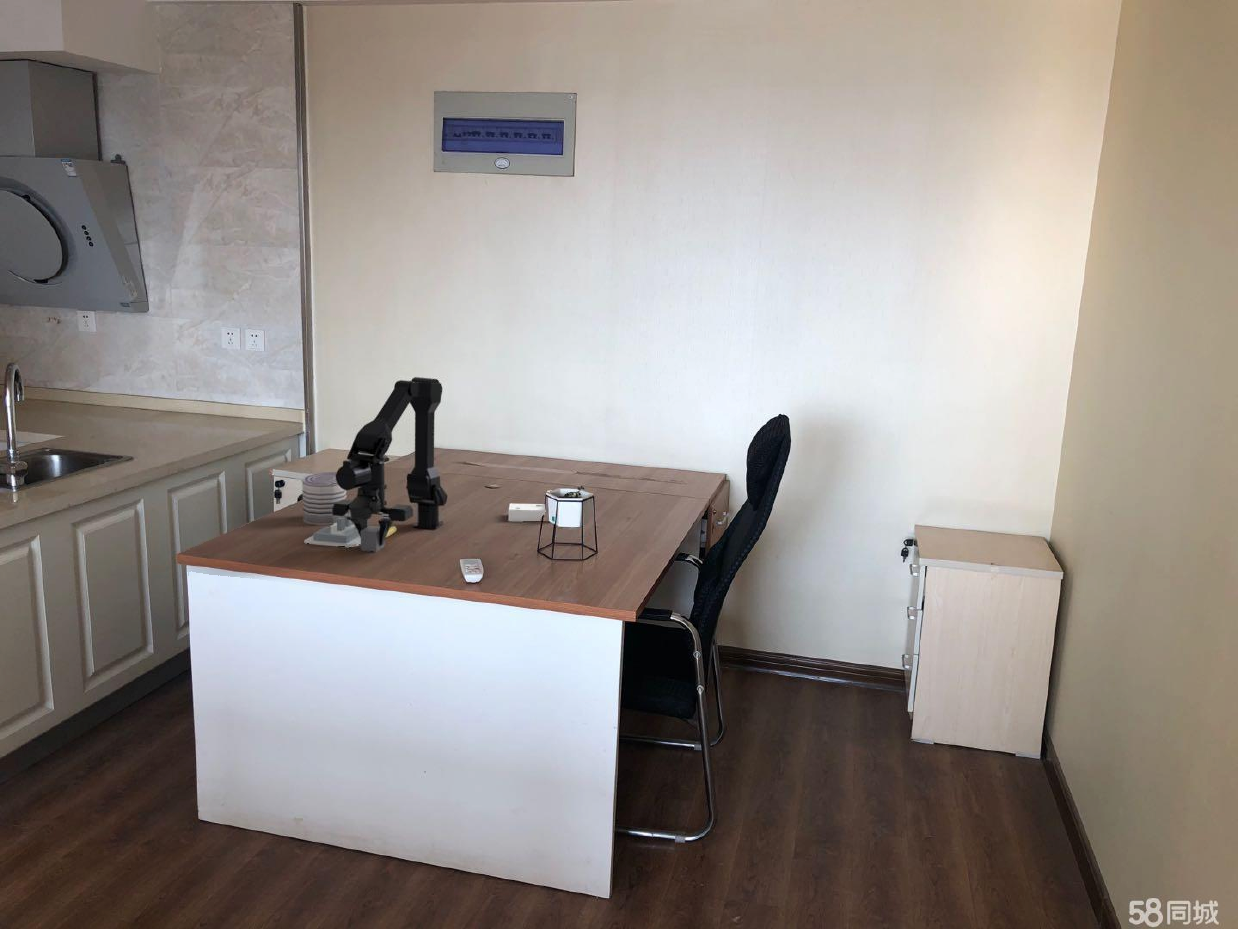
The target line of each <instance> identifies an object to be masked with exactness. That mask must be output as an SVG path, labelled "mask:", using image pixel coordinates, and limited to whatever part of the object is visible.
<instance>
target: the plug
mask: <svg viewBox="0 0 1238 929" xmlns="http://www.w3.org/2000/svg"><path fill="white" fill-rule="evenodd" d="M397 530H398V529H397V527H396V526H394V525H391V527H390V529H389V531H388V533H387V536H386V538H388V537H390V536H391V535H393V534H395V533H396V532H397ZM379 536H380V525H378V526H377V525H369V526H368V527H366V528H364V529H363V530H361V544H360V551H361V550H362V551H361V552H370V551H373V552H374V553H377V552H379V551H381V550H382V549H383V548H385V547H386V540H385V541H384V543H383V545H382V546H380V542H379ZM384 546H385V547H384ZM381 548H382V549H381ZM378 550H379V551H378ZM373 552H372V553H373Z"/></svg>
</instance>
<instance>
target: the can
mask: <svg viewBox="0 0 1238 929" xmlns="http://www.w3.org/2000/svg"><path fill="white" fill-rule="evenodd" d="M336 474H337V471H330V472H329V471H324V472H323V471H321V472H316V473H312V474H308V475H307V474H306V475H303V477H302V480H301V482H302V484H301V486H302V487H301V488H302V517H303V518H302V520H303V522H305V523H306V524H308V525H313V524H314V525H316V526H330V525H329V524H335V523H337V519H338V518H340V517H342V518H344V516H335V515H332V507H333V505H334V504H335V503H337V502H339V501H341V500H347V490H344V489H342V488H341V487H340V486H339V485H338V484H337V481H336ZM346 514H348V512H347V513H346ZM346 514H345V515H346ZM314 525H313V526H314Z"/></svg>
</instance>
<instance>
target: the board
mask: <svg viewBox="0 0 1238 929" xmlns="http://www.w3.org/2000/svg"><path fill="white" fill-rule="evenodd" d="M347 517H348V513H347V514H346V515H344V518H342V517H340V518H338V519H337V523H335V524H333V525H325V526H324V527H322V528H320V529H319V530H316V531H315V532H312V533H313V534H312V535H311V536H309V537H307V538H306V539H304V544H307V543H309V544H308V545H318V546H330V547H338V546H345V547H344V548H349V547H355V546H356V547H358V546H360V545H361V538H360V535H359V532H358V530H357V528H356V526H355V524H353V522H352V521H351V520H347ZM368 526H370V518H369V519H367V527H368ZM359 544H360V545H359ZM356 547H355V548H356Z"/></svg>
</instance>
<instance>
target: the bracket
mask: <svg viewBox="0 0 1238 929" xmlns="http://www.w3.org/2000/svg"><path fill="white" fill-rule="evenodd" d="M550 491H551V490H547V491H546V493H547V492H550ZM545 512H546V510H545V503H541V504H540V503H509V507H508V522H523V521H540V519H541V517H542V516H543V515H545Z"/></svg>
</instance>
